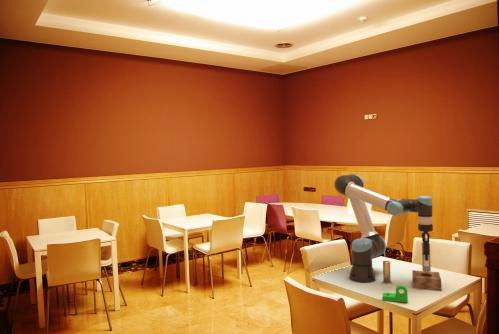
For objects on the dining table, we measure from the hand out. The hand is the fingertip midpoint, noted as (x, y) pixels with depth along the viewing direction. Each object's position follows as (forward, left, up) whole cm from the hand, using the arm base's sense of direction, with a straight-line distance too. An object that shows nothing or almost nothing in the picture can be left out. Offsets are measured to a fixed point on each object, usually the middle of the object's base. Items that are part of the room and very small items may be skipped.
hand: (426, 264), depth 216 cm
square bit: (0, 0, -3) cm, 3 cm away
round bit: (-21, 0, -12) cm, 24 cm away
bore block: (0, 0, -12) cm, 12 cm away
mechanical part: (-17, -26, -12) cm, 33 cm away
